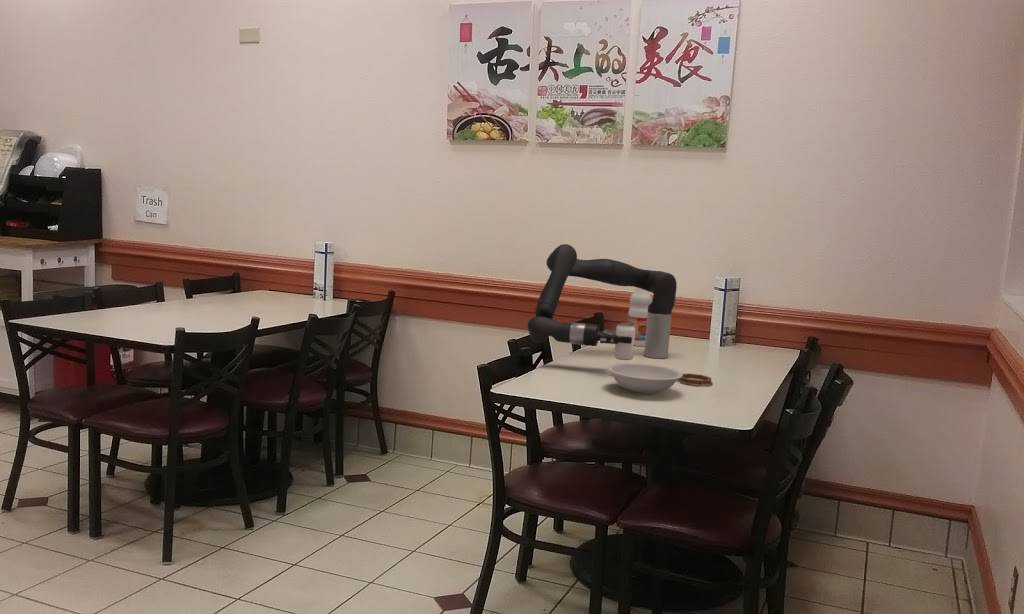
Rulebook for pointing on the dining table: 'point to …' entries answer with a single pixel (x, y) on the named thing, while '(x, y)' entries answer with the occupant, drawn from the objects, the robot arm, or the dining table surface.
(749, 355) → the dining table surface
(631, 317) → the fruit juice
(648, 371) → the soup bowl
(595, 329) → the robot arm
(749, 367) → the dining table surface
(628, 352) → the can
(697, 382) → the octagonal wooden coaster
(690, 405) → the dining table surface
